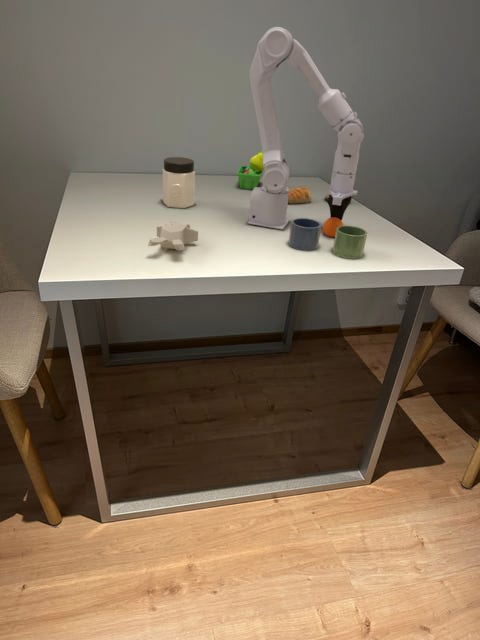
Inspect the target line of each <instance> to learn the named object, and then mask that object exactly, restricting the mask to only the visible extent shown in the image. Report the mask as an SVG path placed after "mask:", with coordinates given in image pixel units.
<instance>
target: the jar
mask: <svg viewBox="0 0 480 640" xmlns="http://www.w3.org/2000/svg"><path fill="white" fill-rule="evenodd" d="M194 169H195V161H194V159H191V158H188V157H181V156H171V157H166V158H164V159H163V168H162V203H163V204H165V205H166V207H168V208H175V209H186V208H191V207H193V206H195V200H196V199H195V196H196V192H195V191H196V171H195V170H194Z"/></svg>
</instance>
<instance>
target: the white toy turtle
mask: <svg viewBox="0 0 480 640" xmlns="http://www.w3.org/2000/svg"><path fill="white" fill-rule="evenodd" d="M198 240H199V231H198V230H195V229H193V228H191V226H190V224H189V223H180V222H174V221H173V222H172V221H170V224H164V225H161V226H157V227H156V237H154V238H151V239H149V241H148V243H147V246H148V247H156V246H158V245H160V247H161V248H163V250H165V251H168V250H169V249H171V250H172V249H173V250H175V251H176V252H180V251H181V250H182V251H184V250H186V247H185V245H187V244H191V243H195V242H198Z"/></svg>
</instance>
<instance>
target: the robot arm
mask: <svg viewBox="0 0 480 640" xmlns="http://www.w3.org/2000/svg"><path fill="white" fill-rule="evenodd" d="M283 62H284V64H286V65H288V66H290V67H292V68H295V69H297V71H298V72H299V73H300V75H302V77H303V79H304V80H305V81H306V82H307V84H308V85H309V86H310V89H312V90H313V92H314V94H315V95H316V96H317V97H318V102H317V109H318V110H319V111H320V113H321V114H322V116H323V117H324V119H325V120H326V122H327V123H328V124H329V126H330V127H331V129H332V130H334V131H336V132H337V139H338V140H337V146H336V147H337V148H336V150H335V152H334V158H333V164H332V165H333V166H332V171H331V179H330V185H329V188H328V193H329V194H331V195H330V196H329V197H328V200H327V201H326V202H327V204H328V207H329V215H330V216H329V218H331V217H336V218H339V219H340V220H341V221H342V222H343V218H344V215H345V212H346V210H347V209H348V207H349V206H350V205H351V202H352V200H353V197H352V196H358V190H355V189H354V188H355V181H356V176H357V171H358V164H359V160H360V159H359V158H360V149H361V143H362V142H363V140H364V138H365V132H364V131H365V130H364V127H363V124H362V122H361V119H359V118H358V116H359V115H358V113H357V112H356V111H354V110H353V109H352V108H351V106H350V104H349V103H348V102H347V100H346V99H347V95H346V94H345V92H344V91H343V92H341V91H340V90H339V89H337V88H330V86H329V84H328V83H327V81H326V79H325V78H324V77H323V75H322V74H321V72H320V70H319V69H318V67H317V66H316V64H315V61H313V59H312V57H311V56H310V54H309V53H308V51H307V50H306V49H305V47H304V46H303V45H301V43H300V42H299V41H298V40H297V39H295V38H294V36H293V34H292V33H291V32H290V31H289V30H288V29H286V28H283V27H280V26H274V27H271V28H269V29H268V30H267V31H266V32H265V33H264V35H263V36H262V37H261V38H260V40H259V41H258V43H257V46H256V51H255V54H254V57H253V60H252V62H251V66H250V68H249V73H248V78H249V83H250V89H251V93H252V99H253V105H254V110H255V116H256V122H257V126H258V133H259V136H260V137H259V138H260V143H261V144H260V145H261V149H262V151H263V166H264V170H263V172H262V176H261V181H262V184H261V186H259V187H258V186H257V187H255V188H254V189H252V192H251V197H250V202H249V203H250V205H249V213H248V214H249V216H248V221H247V224H248V225H253V226H259V227H265V228H270V229H277V230H284V229H285V227H286V226H287V225H288V223H289V222H290V219H289V218H287V212H288V205H289V203H288V197H289V191H290V188H289V187H288V181H289V179H290V178H291V175H292V174H291V173H292V169H291V167H290V164H289V163H288V161H287V160H286V156H285V152H284V149H283V144H282V139H281V133H280V126H279V120H278V113H277V108H276V101H275V96H274V89H273V82H272V77H273V76H274V74H275V73H276V71H277V69H279V66H280V65H281V64H282V63H283ZM353 187H354V188H353Z"/></svg>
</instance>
